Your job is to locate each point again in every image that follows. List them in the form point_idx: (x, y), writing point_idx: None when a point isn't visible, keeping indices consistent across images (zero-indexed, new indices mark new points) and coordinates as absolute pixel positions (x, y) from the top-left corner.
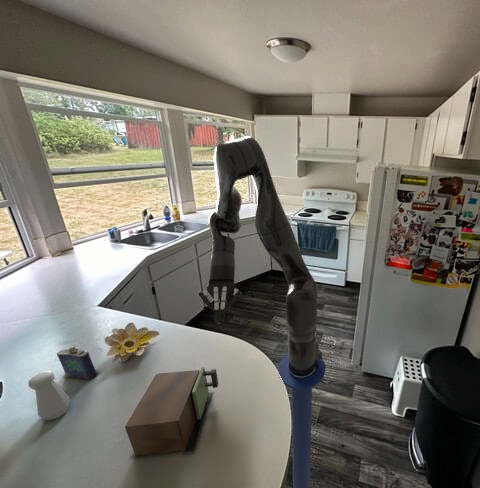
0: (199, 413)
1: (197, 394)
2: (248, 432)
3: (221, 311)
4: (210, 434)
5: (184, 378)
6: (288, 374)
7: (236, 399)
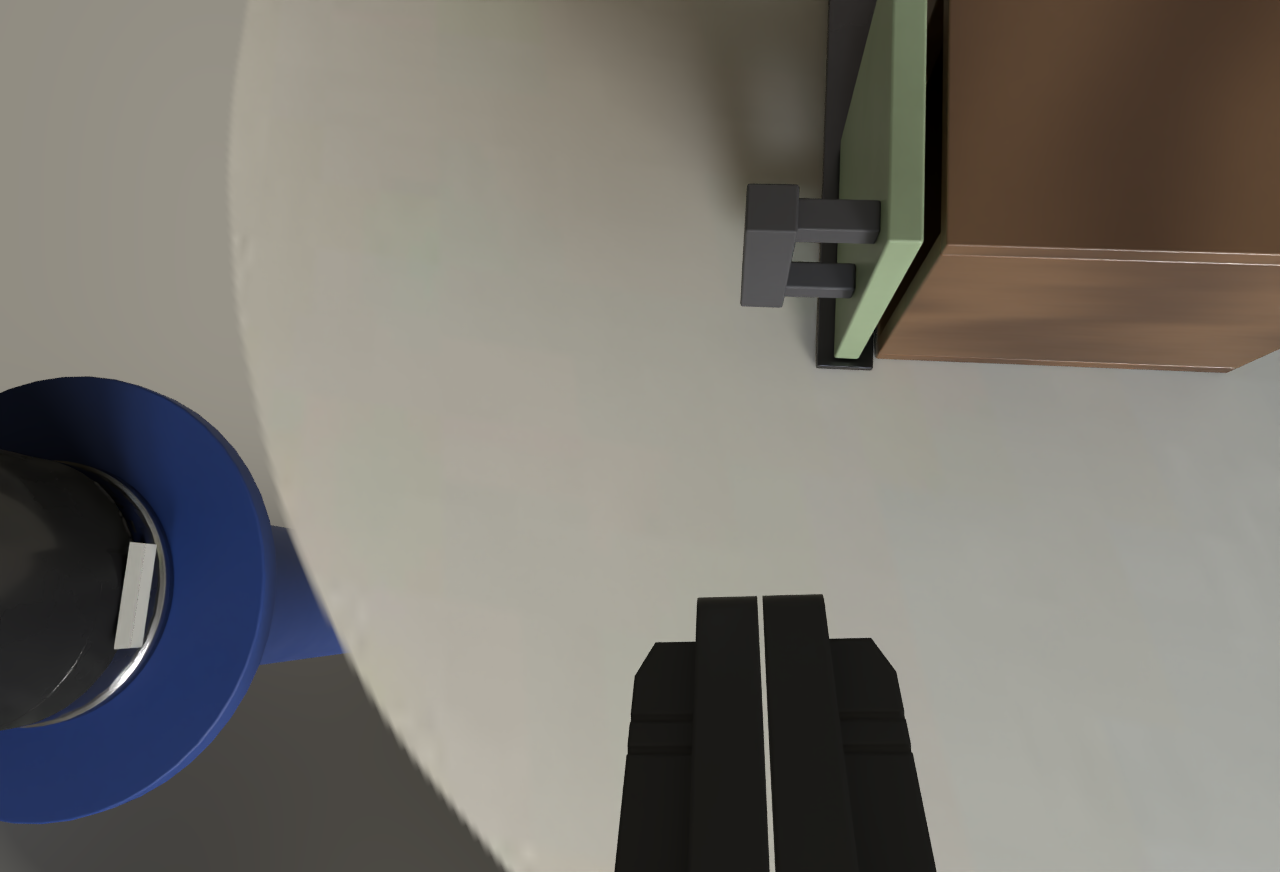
0: (849, 107)
1: (878, 21)
2: (487, 32)
3: (702, 831)
4: (744, 50)
5: (1080, 145)
6: (182, 525)
7: (595, 287)
